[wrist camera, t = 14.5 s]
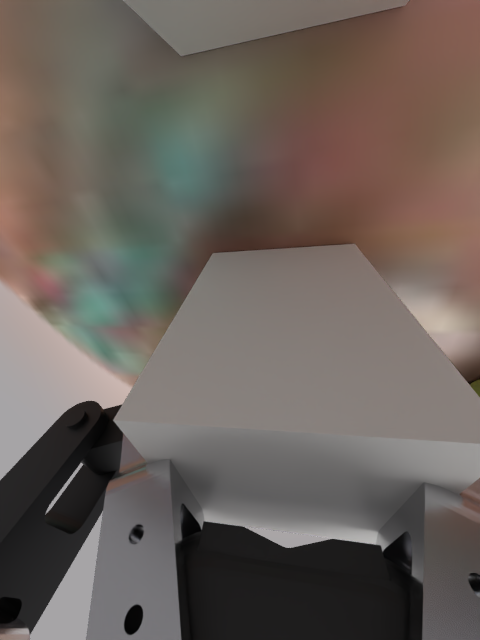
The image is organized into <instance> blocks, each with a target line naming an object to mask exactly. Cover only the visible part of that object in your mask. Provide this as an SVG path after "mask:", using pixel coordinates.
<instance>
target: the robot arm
mask: <svg viewBox="0 0 480 640" xmlns="http://www.w3.org/2000/svg"><path fill="white" fill-rule="evenodd" d="M121 406H122V405H119V406H115V407H111V408H107V409H102V407H101V406H100V405H99V404H98V403H97V402H95V401H86V402H82V403H79V404H77V405H75V406H73V407H72V408H70V409H69V410H67V411H66V412H65V413H64V414H63V415H62V416H61V417H60V418H59V419H58V420H57V421H56V422H55V423H54V424H53V425H52V426H51V427H50V428H49V429H48V431H47V432H46V433H45V434H44V435H43V436H42V437H41V438H40V439H39V440H38V441H37V442H36V443H35V444H34V445H33V446H32V448H31V449H30V450H29V451H28V452H27V453H26V454H25V455H24V456H23V457H22V458H21V459H20V460H19V461H18V463H16V465H15V466H14V467H13V468H12V469H11V470H10V471H9V472H8V473H7V474H6V475H5V476H4V477H3V478H2V479H1V480H0V640H30V634H31V632H32V630H33V629H34V627H35V625H36V624H37V622H38V620H39V619H40V617H41V615H42V613H43V612H44V610H45V608H46V607H47V605H48V603H49V602H50V600H51V598H52V596H53V595H54V593H55V591H56V589H57V588H58V586H59V584H60V583H61V581H62V579H63V578H64V576H65V574H66V573H67V571H68V569H69V567H70V566H71V564H72V562H73V561H74V559H75V557H76V555H77V554H78V552H79V550H80V549H81V547H82V545H83V543H84V542H85V540H86V538H87V537H88V535H89V533H90V532H91V530H92V528H93V526H94V525H95V523H96V521H97V520H98V518H99V516H100V515H101V513H102V511H103V515H102V523H101V530H100V539H99V546H98V554H97V561H96V568H95V576H94V584H93V591H92V599H91V606H90V614H89V622H88V629H87V637H86V640H480V478H479V479H478V480H476V481H475V482H474V483H473V484H471V485H470V486H469V487H468V488H466V489H465V490H464V491H463V492H461V493H460V494H458V493H454V492H452V491H450V490H448V489H446V488H443V487H440V486H437V485H434V484H430V483H425V482H423V483H422V485H421V486H420V487H419V488H418V489H417V490H416V491H415V492H414V493H413V494H412V495H411V496H410V497H409V499H408V500H407V501H406V502H405V503H404V504H403V505H402V506H401V507H400V508H399V509H398V510H397V512H396V513H395V514H394V515H393V516H392V517H391V518H390V519H389V520H388V521H387V522H386V523H385V524H384V526H383V527H382V528H381V529H380V530H379V531H378V535H377V540H376V545H375V544H367V543H360V542H353V541H345V540H338V539H330V540H326V541H321V542H316V543H312V544H308V545H303V546H298V547H294V548H285V547H282V546H280V545H278V544H276V543H274V542H272V541H270V540H268V539H266V538H265V537H263V536H260V535H258V534H257V533H254V532H253V531H250V530H249V529H246V528H245V527H242V526H235V525H228V524H220V523H213V522H206V521H205V520H204V514H203V509H202V508H201V506H200V504H199V503H198V501H197V500H196V498H195V497H194V495H193V494H192V492H191V491H190V489H189V488H188V486H187V485H186V483H185V481H184V480H183V478H182V477H181V475H180V474H179V472H178V471H177V469H176V468H175V466H174V465H173V463H172V462H171V460H170V459H163V460H157V461H154V462H151V463H147V462H146V461H145V459H144V458H143V457H142V456H141V454H140V453H139V452H138V451H137V449H136V448H135V447H134V446H133V444H132V443H131V442H130V441H129V439H128V438H127V437H126V436H125V435H124V433H123V432H122V431H121V430H120V428H119V427H118V426H117V425H116V423H115V422H114V421H113V420H114V418H115V416H116V415H117V413H118V411H119V409H120V408H121ZM80 463H83V464H84V465H83V466H82V467H81V469H80V470H79V471H78V473H77V474H76V475H75V477H74V478H73V480H72V481H71V482H70V484H69V485H68V486H67V488H66V489H65V491H64V492H63V493H62V495H61V496H60V498H59V499H58V500H57V501H56V503H55V504H54V506H53V507H52V508H51V510H50V511H49V512H48V513H47V514H46V515H45V513H46V510H47V508H48V507H49V504H50V503H51V502H52V500H53V499H54V498H55V497H56V495H57V494H58V492H59V491H60V490H61V488H62V487H63V486H64V484H65V483H66V482H67V480H68V479H69V478H70V476H71V475H72V474H73V472H74V471H75V470H76V468H77V467H78V466H79V464H80Z"/></svg>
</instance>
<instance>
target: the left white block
mask: <svg viewBox="0 0 480 640" xmlns="http://www.w3.org/2000/svg"><path fill="white" fill-rule="evenodd" d="M123 1H124V2H125V3H126V4H127V5H128V6H129V7H130V8H131V9H132V10H133V11H135V12H136V13H137V14H138V15H139V16H140V17H141V18H142V19H143V20H144V21H145V22H146V23H147V24H148V25H149V26H150V27H151V28H152V29H153V30H154V31H155V32H156V33H157V34H159V35H160V36H161V37H162V38H163V39H164V40H165V41H166V42H167V43H168V44H169V45H170V46H171V47H172V48H173V49H174V50H175V51H176V52H177V53H178V54H179V55H180V56H185V55H189V54H194V53H198V52H203V51H207V50H211V49H216V48H220V47H225V46H229V45H233V44H238V43H242V42H247V41H251V40H256V39H260V38H264V37H269V36H273V35H278V34H282V33H286V32H291V31H295V30H300V29H304V28H308V27H313V26H317V25H322V24H326V23H331V22H335V21H339V20H344V19H348V18H353V17H357V16H361V15H366V14H370V13H375V12H379V11H383V10H388V9H392V8H397V7H401V6H405V5H406V4H407V3H408V1H409V0H123Z"/></svg>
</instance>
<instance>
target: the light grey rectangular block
mask: <svg viewBox="0 0 480 640" xmlns="http://www.w3.org/2000/svg"><path fill="white" fill-rule="evenodd" d="M113 421H114V422H115V423H116V425H117V426H118V427H119V428H120V430H121V431H122V432H123V433H124V435H125V436H126V437H127V438H128V439H129V441H130V442H131V443H132V444H133V446H134V447H135V448H136V449H137V451H138V452H139V453H140V454H141V456H142V457H143V458H144V459H145V461H146V462H147V463H151V462H154V461H157V460H163V459H170V460H171V462H172V463H173V465H174V466H175V468H176V469H177V471H178V472H179V474H180V475H181V477H182V478H183V480H184V481H185V483H186V485H187V486H188V488H189V489H190V491H191V492H192V494H193V495H194V497H195V498H196V500H197V501H198V503H199V504H200V506H201V508H202V509H203V514H204V520H205V521H207V522H214V523H222V524H229V525H236V526H244V527H251V528H258V529H266V530H273V531H281V532H288V533H295V534H302V535H310V536H317V537H325V538H332V539H339V540H346V541H354V542H361V543H368V544H376V540H377V535H378V531H379V530H380V529H381V528H382V527H383V526H384V524H385V523H386V522H387V521H388V520H389V519H390V518H391V517H392V516H393V515H394V514H395V513H396V512H397V510H398V509H399V508H400V507H401V506H402V505H403V504H404V503H405V502H406V501H407V500H408V499H409V497H410V496H411V495H412V494H413V493H414V492H415V491H416V490H417V489H418V488H419V487H420V486H421V485H422V483H423V482H425V483H430V484H434V485H437V486H440V487H443V488H446V489H448V490H450V491H452V492H454V493H458V494H460V493H461V492H463V491H464V490H465V489H466V488H468V487H469V486H470V485H471V484H473V483H474V482H475V481H476V480H478V479H479V478H480V397H479V396H478V395H477V393H476V392H475V391H474V390H473V389H472V387H471V386H470V385H469V384H468V382H467V381H466V380H465V379H464V377H463V376H462V375H461V374H460V373H459V371H458V370H457V369H456V368H455V366H454V365H453V364H452V363H451V361H450V360H449V359H448V358H447V357H446V355H445V354H444V353H443V352H442V350H441V349H440V348H439V347H438V346H437V344H436V343H435V342H434V341H433V339H432V338H431V337H430V336H429V334H428V333H427V332H426V331H425V330H424V328H423V327H422V326H421V325H420V323H419V322H418V321H417V320H416V318H415V317H414V316H413V315H412V314H411V312H410V311H409V310H408V309H407V307H406V306H405V305H404V304H403V302H402V301H401V300H400V299H399V298H398V296H397V295H396V294H395V293H394V291H393V290H392V289H391V288H390V286H389V285H388V284H387V283H386V282H385V280H384V279H383V278H382V277H381V275H380V274H379V273H378V272H377V270H376V269H375V268H374V267H373V266H372V264H371V263H370V262H369V261H368V259H367V258H366V257H365V256H364V254H363V253H362V252H361V251H360V250H359V248H358V247H357V246H356V245H355V244H343V245H328V246H313V247H298V248H283V249H267V250H252V251H237V252H222V253H213V254H212V255H211V257H210V259H209V260H208V262H207V264H206V265H205V267H204V269H203V270H202V272H201V274H200V275H199V277H198V279H197V280H196V282H195V284H194V285H193V287H192V289H191V290H190V292H189V294H188V295H187V297H186V299H185V300H184V302H183V304H182V306H181V307H180V309H179V311H178V312H177V314H176V316H175V317H174V319H173V321H172V322H171V324H170V326H169V327H168V329H167V331H166V332H165V334H164V336H163V337H162V339H161V341H160V342H159V344H158V346H157V347H156V349H155V351H154V352H153V354H152V356H151V358H150V359H149V361H148V363H147V364H146V366H145V368H144V369H143V371H142V373H141V374H140V376H139V378H138V379H137V381H136V383H135V384H134V386H133V388H132V389H131V391H130V393H129V395H128V396H127V398H126V399H125V401H124V403H123V404H122V406H121V408H120V409H119V411H118V413H117V415H116V416H115V418H114V420H113Z"/></svg>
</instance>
